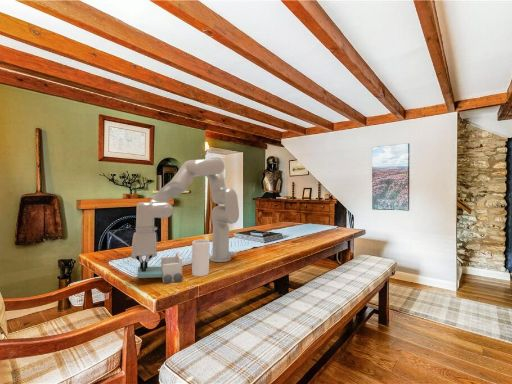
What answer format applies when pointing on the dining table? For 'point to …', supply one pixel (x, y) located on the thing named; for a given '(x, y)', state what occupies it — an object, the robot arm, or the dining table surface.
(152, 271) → the tailgate
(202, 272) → the cup
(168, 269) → the cart
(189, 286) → the dining table surface
